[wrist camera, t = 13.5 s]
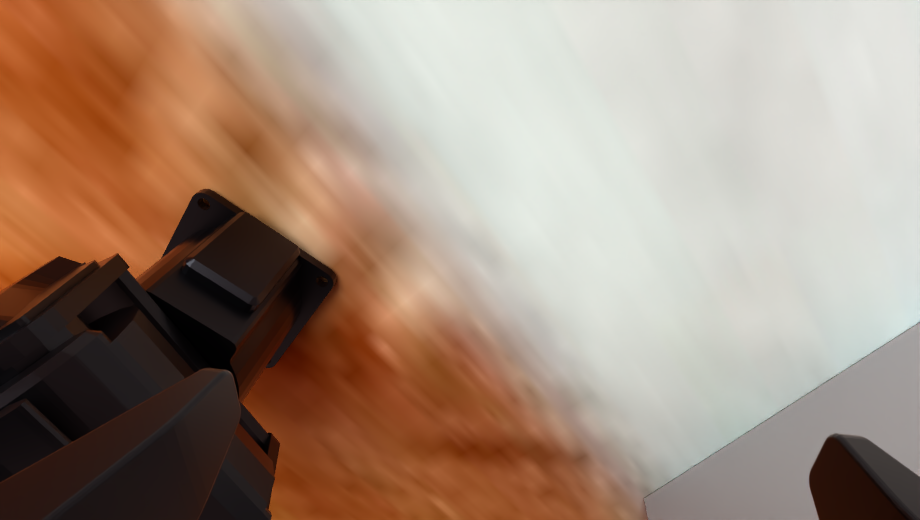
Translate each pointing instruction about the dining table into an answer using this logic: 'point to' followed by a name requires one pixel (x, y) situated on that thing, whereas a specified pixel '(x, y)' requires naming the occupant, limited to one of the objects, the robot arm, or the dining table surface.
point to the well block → (804, 443)
